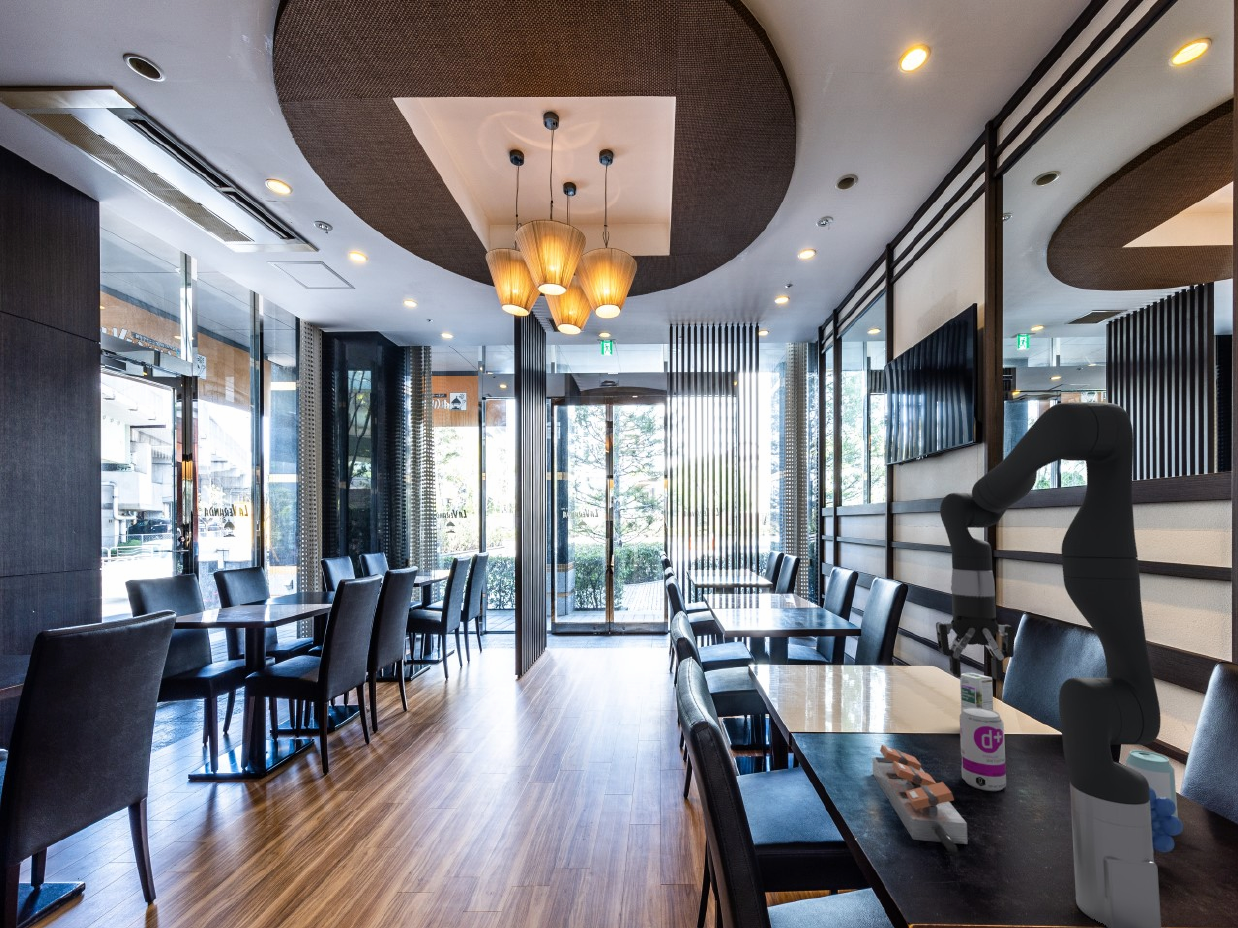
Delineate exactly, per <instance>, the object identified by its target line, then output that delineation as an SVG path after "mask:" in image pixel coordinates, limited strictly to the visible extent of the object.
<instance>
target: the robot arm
mask: <svg viewBox="0 0 1238 928" xmlns="http://www.w3.org/2000/svg"><path fill="white" fill-rule="evenodd" d="M1133 430H1134V429H1133V425H1132V422H1131V418H1130V416H1129V415H1128V413H1127V410H1125V409H1124V408H1123V407H1122V406H1121V405H1119V404H1116V403H1112V402H1111V403H1110V402H1097V401H1096V402H1095V401H1094V402H1093V401H1092V402H1090V401H1088V402H1087V401H1067V402H1066V401H1065V402H1060V403H1056V404H1054V405H1051V406H1050V407H1049V408H1047V409H1046V410H1045V411H1044V412H1043V413H1042V414H1041V415H1040V416H1039V417H1038V418H1037V419H1036V421H1035V422H1034V423H1033V424H1032V425H1031V426H1030V428H1029V429H1028V430H1027V431H1026V433H1025V434H1024V435H1023V436H1022V437H1021V438H1020V440H1019V441H1018V442H1017V443H1016V445H1015V446H1014V447H1013V449H1012V450H1010V452H1009V453H1008V454H1007V456H1006V457H1005V458H1004V459H1002V461H1001V462H1000V463H998V464H997V465H996V466H994V468H992V469H991V470H990V471H988V472H987V473H986V474H984V475H983V476H981V478H980V479H978V480H977V481H976V482H975V483H974V484H973V487H972V488H971V492H953V493H948V494H946V495H945V496H944V497H943V499H942V501H941V504H940V507H939V510H940V511H939V513H940V517H941V521H942V524H943V527H944V529H945V532H946V536H947V539H948V542H949V546H950V550H951V566H952V569H951V570H952V571H951V585H950V590H951V603H952V606H951V607H952V608H951V609H952V620H951V622H945V623H944V622H943V623H942V622H939V621H938V622H936V623H935V629H936V631H935V632H936V638H937V647H938V651H939V652H941V653H942V654H944V655H946V656H948V659H949V660H948V661H949V671H950V673H951V674H952V675H953V676H954V677H955V678H957V679H958V678H959V679H960V678H961V674H962V669H961V666H962V665H961V658H960V656H961V655H962V652H963V651H964V650H965V649H966V647H967V646H968V645H969V646H974V645H978V646H979V645H980V646H985V647H986V648H987V650H988V651H989V653H990V654H991V656H992V657H991V658H990V662H991V663H990V664H991V665H990V666H991V677H992V679H994V680H1001V678H1002V677H1003V676H1004V660H1005V659H1007V658H1013V657H1014V656H1015V632H1016V630H1015V627H1014V626H1012V625H1009V624H998V622H997V620H996V619H997V612H996V611H997V609H996V608H997V607H996V590H995V588H996V587H995V578H994V573H993V557H992V556H993V555H992V546H991V544H990V543H989V542H987V541H985V540H982V539H978V538H975V537H973V535H972V534H971V533H970V530H969V528H976V529H977V528H978V529H982V528H983V529H984V528H989V527H992V526H994V525H997V524H998V523H999V521H1001V519H1002V517H1003V516H1004V514H1005V513H1006V511H1007V510H1008V508H1009V507H1011V506H1012V505H1014V504H1016V503H1017V502H1019V501H1020V500H1022V499H1023V498H1024V497H1026V496H1027V495H1028V494H1029V493H1030V492H1031V491H1032V490H1033V488H1034V486H1035V484H1036V482H1037V474H1038V471H1039V470H1040V469H1041V468H1043V467H1045V466H1048V465H1050V464H1052V463H1054V462H1058V461H1060V460H1063V461H1078V462H1080V461H1081V462H1085V466H1086V490H1085V491H1086V492H1085V495H1084V499H1083V500H1082V504H1081V505H1080V507H1079V509H1078V511H1077V513H1076V514H1075V516H1074V518H1073V520H1072V521H1071V523H1070V524H1069V525H1068V528H1067V530H1066V531H1065V534H1064V537H1063V540H1062V542H1061V565H1062V577H1063V585H1064V587H1065V591H1066V593H1067V595H1068V597H1069V598H1070V600H1071V601H1072V603H1073V604H1074V605H1075V607H1076V608H1077V610H1078V611H1079V613H1080V614H1081V615H1082V616H1083V618H1084V619H1085V620H1086V622H1087V623H1088V624H1089V625H1090V627H1091V628H1092V629H1093V631H1094V632H1095V634H1096V636H1097V638H1098V639H1099V642H1100V644H1101V647H1102V649H1103V653H1104V658H1105V663H1106V677H1086V676H1085V677H1083V676H1082V677H1075V676H1074V677H1070V678H1068V679H1066V680H1064V682H1063V683H1062V684H1061V686H1060V689H1059V694H1058V709H1059V710H1058V712H1059V721H1060V728H1061V736H1062V748H1063V749H1062V750H1063V756H1064V760H1065V763H1066V766H1067V769H1068V773H1069V774H1068V775H1069V789H1070V790H1069V792H1070V809H1071V812H1070V813H1071V814H1070V815H1071V828H1072V829H1071V831H1072V846H1073V848H1072V850H1073V866H1074V867H1073V869H1074V870H1073V871H1074V883H1075V884H1074V885H1075V888H1074V889H1075V900H1076V901H1075V902H1076V905H1077V906H1078V909H1080V911H1081V912H1082V913H1084V915H1086V916H1087V917H1089V918H1090V919H1092V920H1094V919H1095V920H1096V921H1095V920H1094V921H1095V922H1097V921H1098V922H1097V923H1099V922H1100V924H1101V923H1103V924H1104V925H1103V924H1102V925H1103V926H1105V925H1106V927H1107V928H1162V923H1161V922H1162V921H1161V920H1162V918H1161V905H1160V902H1161V901H1160V893H1159V892H1160V888H1159V887H1160V886H1159V875H1158V874H1159V872H1158V865H1157V864H1156V863H1155V861H1154V859H1155V857H1154V853H1153V849H1154V847H1153V843H1152V827H1151V809H1150V791H1149V784H1148V781H1147V779H1146V778H1145V777H1144V776H1143V775H1142V774H1140V773H1139V772H1137V771H1135V770H1133V769H1131V768H1129V767H1127V766H1126V765H1123V764H1121V763H1118V762H1115V761H1114V759H1113V755H1112V751H1111V745H1125V746H1126V745H1134V746H1136V745H1143V746H1144V745H1148V744H1151V743H1153V742H1155V740H1156V739H1157V737H1158V736H1159V734H1160V731H1161V724H1162V723H1161V719H1162V718H1161V707H1160V702H1159V701H1160V700H1159V697H1158V693H1157V688H1156V683H1155V682H1156V681H1155V678H1154V674H1153V669H1152V665H1151V660H1150V654H1149V651H1148V644H1147V637H1146V632H1145V631H1146V630H1145V624H1144V615H1143V607H1142V600H1141V599H1142V596H1141V579H1140V578H1141V576H1140V568H1139V559H1138V550H1137V544H1136V535H1135V534H1136V532H1135V524H1134V523H1135V520H1134V505H1133V503H1134V502H1133V468H1134V467H1133V465H1134V431H1133ZM951 630H953V632H954V633H955V637H954V639H953V640H952V644H951V646H949V638H948V637H949V636H948V635H949V634H950V633H951ZM997 633H999V635H1000V636H1001V649H1000V648H999V647H1000V646H999V645H998V643H997V641H996V640H995V639H994V637H995V635H996V634H997Z"/></svg>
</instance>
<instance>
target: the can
mask: <svg viewBox="0 0 1238 928" xmlns="http://www.w3.org/2000/svg"><path fill="white" fill-rule="evenodd" d="M1125 766H1127V767H1129V768H1131V769H1133V770H1135V771H1137V772H1139V773H1140V774H1142V775H1143V776H1144V777H1145V778H1146V779H1147V781H1148V784H1149V787H1151V788H1152V789H1153V790H1154V791H1155V794H1156V798H1159V797H1166V798H1169V799H1171V800H1172V801H1173V802H1174V804H1175V806H1176V810H1175V813H1174V814H1173V815H1171V816H1174V817H1177V818H1178V819H1179V817H1178V816H1179V815H1178V803H1177V790H1176V789H1177V787H1176V786H1177V785H1176V775H1175V772H1176V771H1175V768H1174V767H1173V765H1172V764H1171V763H1170V759H1169V758H1168V757H1167V756H1165V755H1162V754H1159V753H1156V752H1153V751H1149V750H1143V749H1142V750H1140V749H1137V750H1136V749H1135V750H1130V751H1129V755H1128V756H1127V757H1126V759H1125Z"/></svg>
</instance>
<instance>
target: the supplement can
mask: <svg viewBox="0 0 1238 928" xmlns="http://www.w3.org/2000/svg"><path fill="white" fill-rule="evenodd" d="M959 737H960V738H959V739H960V760H961V761H960V762H961V764H960V765H961V777H962V779H963V780H964V781H965V783H966V784H968V785H969V786H970V787H973V788H976V789H978V790H979V789H980V790H983V791H988V792H989V791H990V792H997V791H998V792H999V791H1001V790H1003V789H1004V788H1005V787H1006V786H1007V770H1006V768H1007V767H1006V748H1005V744H1006V743H1005V723H1004V721H1003V719H1002V718H1001V714H1000V713H999V712H997V711H995V710H993V711H992V710H989V709H985V708H977V707H967V708H963V711H962V713H960V715H959Z"/></svg>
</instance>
